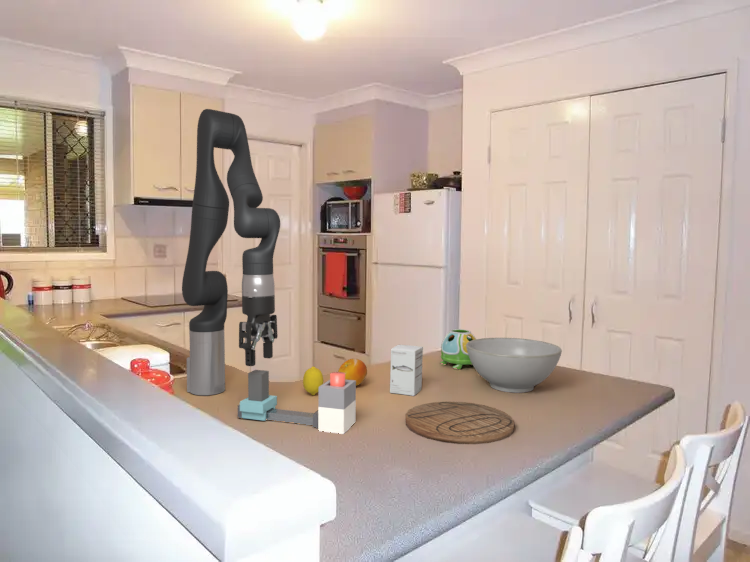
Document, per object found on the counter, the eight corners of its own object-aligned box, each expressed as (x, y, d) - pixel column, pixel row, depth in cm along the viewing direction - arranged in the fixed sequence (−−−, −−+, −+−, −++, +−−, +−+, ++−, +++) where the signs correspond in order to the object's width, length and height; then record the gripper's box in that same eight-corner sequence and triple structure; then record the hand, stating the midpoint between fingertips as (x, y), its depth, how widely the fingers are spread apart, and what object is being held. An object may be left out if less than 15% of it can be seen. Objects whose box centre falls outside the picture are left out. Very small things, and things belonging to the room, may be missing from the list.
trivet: (383, 420, 132) (383, 412, 132) (459, 403, 147) (459, 396, 147) (458, 455, 112) (458, 445, 112) (537, 430, 127) (537, 422, 127)
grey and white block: (318, 431, 124) (318, 387, 123) (331, 419, 131) (331, 378, 130) (343, 434, 122) (343, 389, 121) (355, 422, 129) (355, 380, 129)
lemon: (320, 399, 148) (320, 369, 147) (300, 397, 149) (300, 368, 148) (325, 393, 153) (326, 364, 152) (306, 391, 154) (306, 363, 153)
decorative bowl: (525, 372, 179) (526, 335, 178) (580, 396, 153) (582, 352, 152) (449, 378, 170) (450, 339, 169) (495, 404, 145) (496, 358, 144)
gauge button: (327, 401, 125) (327, 374, 124) (333, 396, 128) (333, 371, 128) (341, 402, 124) (342, 376, 123) (347, 398, 127) (347, 372, 127)
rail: (237, 418, 131) (237, 405, 131) (248, 412, 136) (248, 399, 136) (317, 428, 125) (317, 414, 125) (325, 421, 130) (326, 408, 130)
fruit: (332, 388, 158) (332, 360, 157) (344, 381, 166) (345, 354, 165) (360, 391, 155) (360, 363, 154) (371, 384, 163) (371, 357, 162)
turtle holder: (473, 375, 175) (474, 337, 174) (432, 364, 189) (433, 329, 188) (498, 369, 183) (499, 333, 182) (457, 359, 197) (458, 326, 196)
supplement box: (389, 393, 154) (389, 348, 153) (398, 386, 160) (398, 343, 159) (414, 396, 151) (415, 350, 150) (422, 389, 158) (423, 345, 157)
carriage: (239, 418, 130) (239, 374, 129) (254, 410, 136) (254, 367, 136) (262, 421, 128) (262, 376, 127) (276, 412, 135) (276, 369, 134)
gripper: (258, 290, 138) (259, 354, 139) (227, 296, 124) (229, 367, 125) (286, 291, 136) (287, 356, 137) (257, 297, 122) (259, 369, 123)
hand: (259, 361), depth 131 cm, fingers open, 8 cm apart
